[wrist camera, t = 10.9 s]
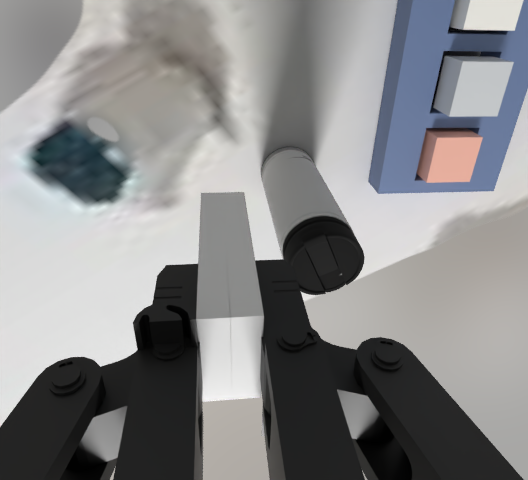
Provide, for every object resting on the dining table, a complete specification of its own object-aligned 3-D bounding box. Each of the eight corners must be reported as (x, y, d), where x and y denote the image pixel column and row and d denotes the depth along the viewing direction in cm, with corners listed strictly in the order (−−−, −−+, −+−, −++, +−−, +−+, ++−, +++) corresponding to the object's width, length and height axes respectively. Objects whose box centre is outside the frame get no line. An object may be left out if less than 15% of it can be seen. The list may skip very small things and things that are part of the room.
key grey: (444, 55, 42) (462, 61, 39) (492, 56, 42) (513, 62, 39) (433, 107, 44) (449, 116, 42) (478, 107, 45) (497, 116, 42)
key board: (408, -62, 39) (424, -66, 36) (549, -56, 41) (576, -59, 38) (368, 181, 51) (378, 193, 48) (477, 179, 53) (493, 190, 50)
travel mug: (302, 134, 48) (353, 219, 31) (321, 183, 51) (377, 284, 34) (251, 157, 48) (273, 253, 31) (273, 204, 52) (304, 313, 35)
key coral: (422, 127, 47) (437, 137, 44) (465, 127, 47) (483, 137, 44) (413, 170, 49) (426, 182, 46) (454, 169, 50) (469, 181, 47)
